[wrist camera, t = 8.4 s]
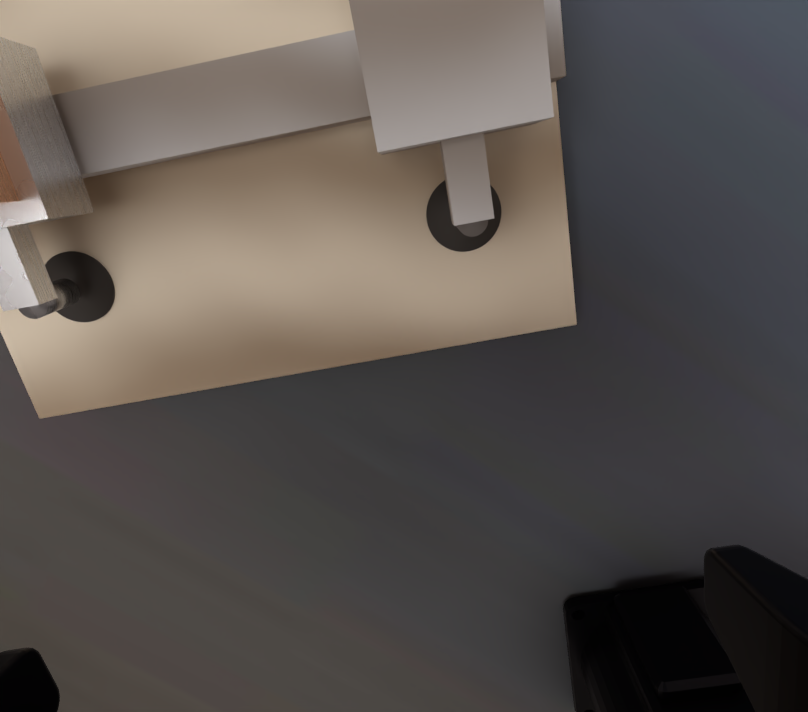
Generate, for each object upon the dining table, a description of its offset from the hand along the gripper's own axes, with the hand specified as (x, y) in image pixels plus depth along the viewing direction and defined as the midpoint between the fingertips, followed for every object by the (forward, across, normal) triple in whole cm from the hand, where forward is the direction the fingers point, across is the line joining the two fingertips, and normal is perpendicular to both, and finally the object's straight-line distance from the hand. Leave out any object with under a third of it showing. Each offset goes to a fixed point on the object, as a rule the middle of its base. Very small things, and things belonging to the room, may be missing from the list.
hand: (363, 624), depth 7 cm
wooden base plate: (+12, +3, -6) cm, 14 cm away
